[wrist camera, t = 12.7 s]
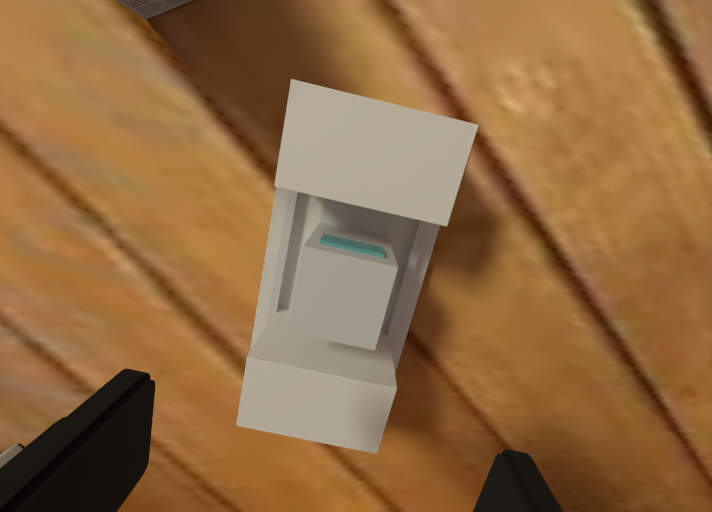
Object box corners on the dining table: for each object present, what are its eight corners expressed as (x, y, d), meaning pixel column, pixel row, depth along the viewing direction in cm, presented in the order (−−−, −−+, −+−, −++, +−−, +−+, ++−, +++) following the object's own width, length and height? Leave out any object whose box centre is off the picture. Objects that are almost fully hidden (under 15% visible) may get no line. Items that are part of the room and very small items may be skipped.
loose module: (389, 234, 24) (399, 263, 17) (372, 300, 26) (375, 350, 19) (320, 218, 24) (303, 242, 17) (307, 285, 25) (286, 331, 19)
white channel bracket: (390, 379, 29) (399, 458, 22) (252, 350, 29) (212, 420, 21) (461, 141, 24) (508, 132, 16) (293, 100, 23) (259, 70, 16)
